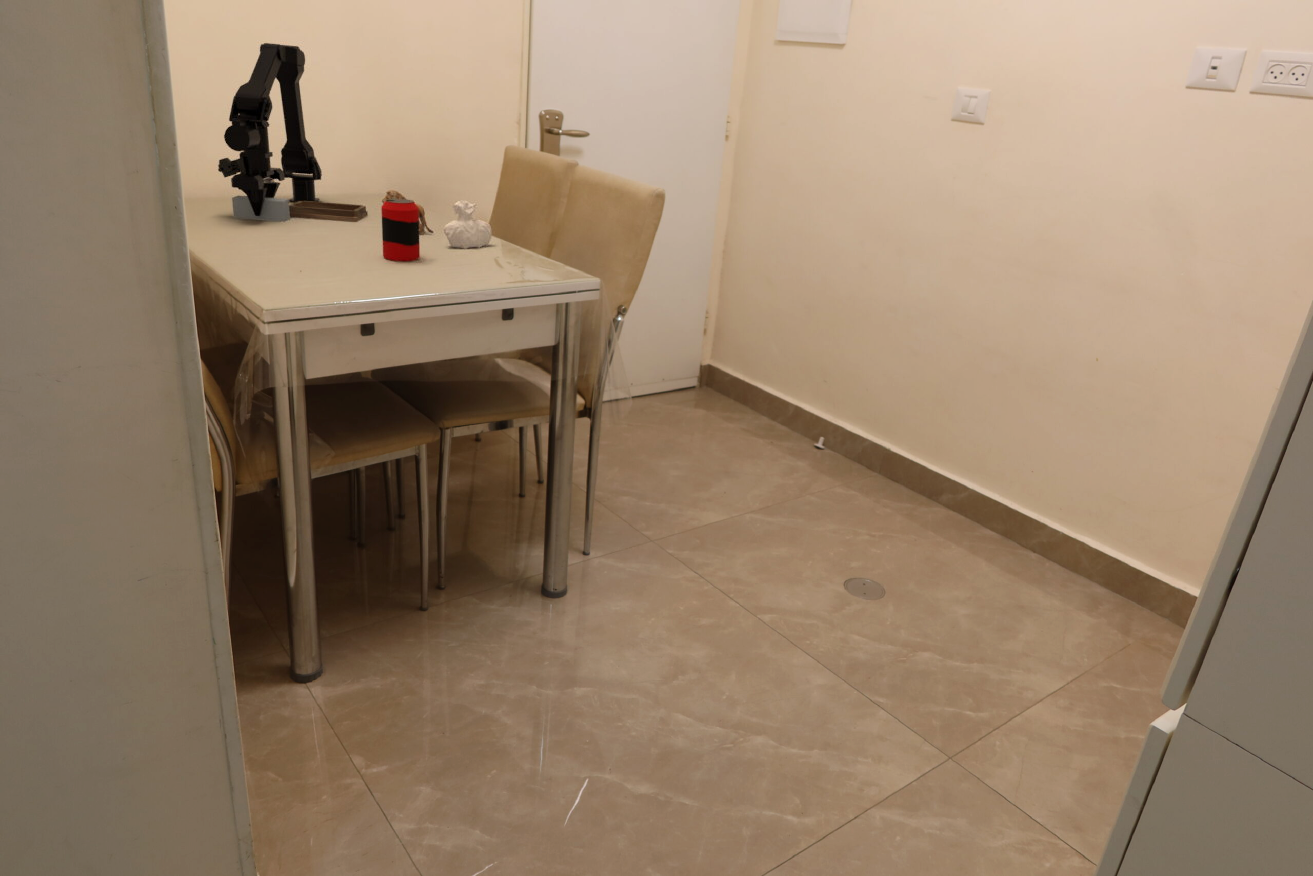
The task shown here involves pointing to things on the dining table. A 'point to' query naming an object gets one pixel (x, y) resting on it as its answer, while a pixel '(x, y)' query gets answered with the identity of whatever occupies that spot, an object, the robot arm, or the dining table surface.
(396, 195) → the lion figurine
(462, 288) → the dining table surface
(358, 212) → the brown wooden tray
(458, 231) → the white tied bag
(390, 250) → the soda can
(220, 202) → the dining table surface
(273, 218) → the grey block
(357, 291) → the dining table surface
